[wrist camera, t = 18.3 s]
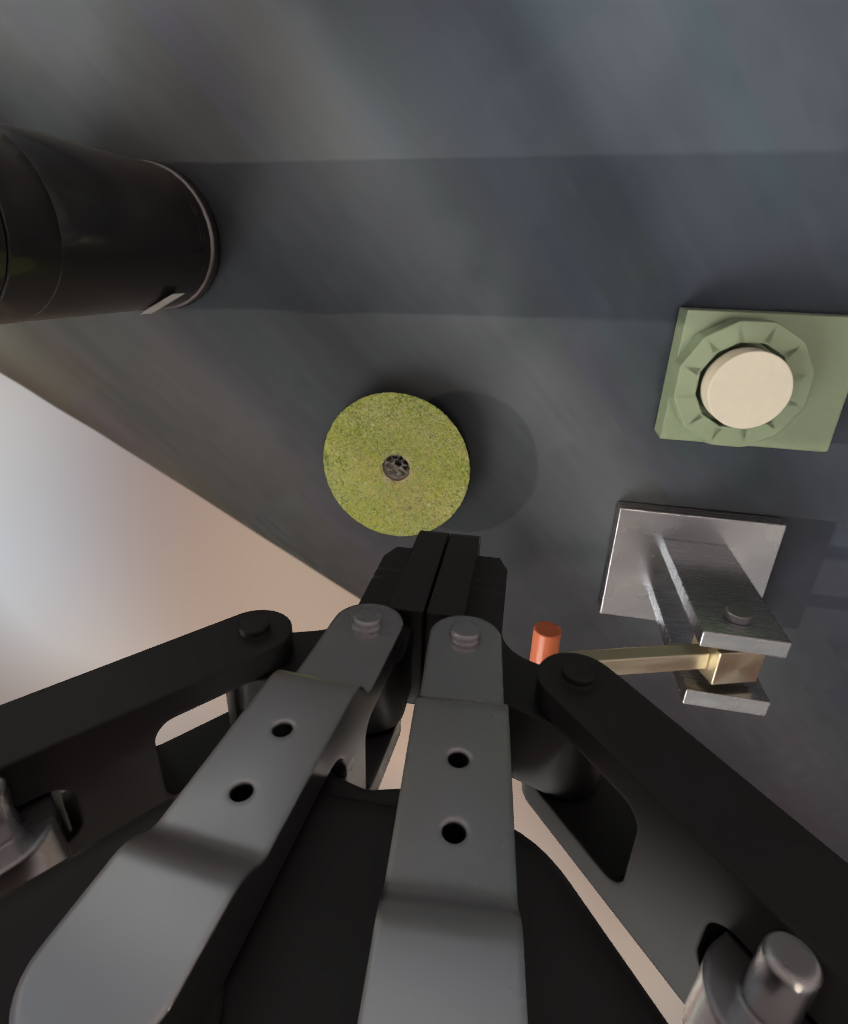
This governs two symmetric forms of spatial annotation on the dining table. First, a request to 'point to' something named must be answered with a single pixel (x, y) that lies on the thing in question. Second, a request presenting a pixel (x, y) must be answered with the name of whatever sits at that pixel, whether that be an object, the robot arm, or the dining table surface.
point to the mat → (396, 464)
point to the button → (746, 387)
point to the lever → (657, 657)
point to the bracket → (698, 588)
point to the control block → (790, 335)
